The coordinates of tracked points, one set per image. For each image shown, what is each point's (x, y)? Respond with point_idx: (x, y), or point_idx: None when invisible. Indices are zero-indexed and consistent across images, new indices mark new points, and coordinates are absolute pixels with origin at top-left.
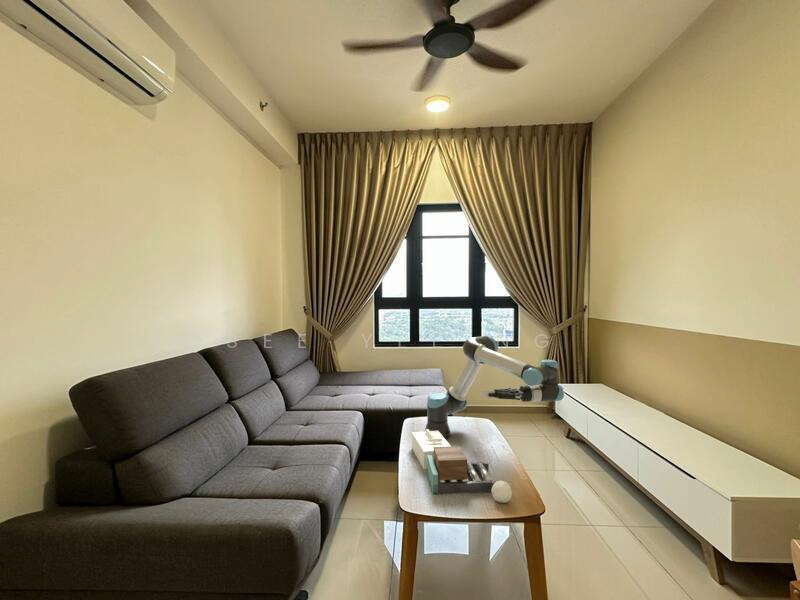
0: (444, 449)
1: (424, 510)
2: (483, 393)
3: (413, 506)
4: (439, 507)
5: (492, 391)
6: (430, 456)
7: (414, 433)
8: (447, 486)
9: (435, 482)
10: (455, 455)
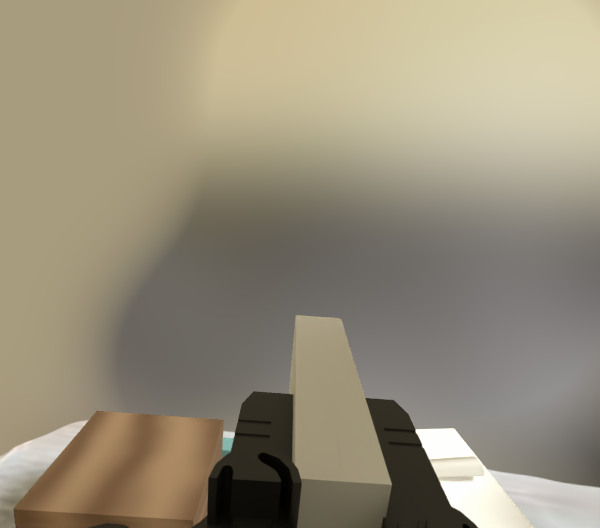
0: (183, 447)
1: (33, 448)
2: (294, 350)
3: (72, 430)
4: (12, 485)
5: (320, 432)
6: (230, 446)
7: (445, 433)
8: None
9: None
10: (97, 471)
